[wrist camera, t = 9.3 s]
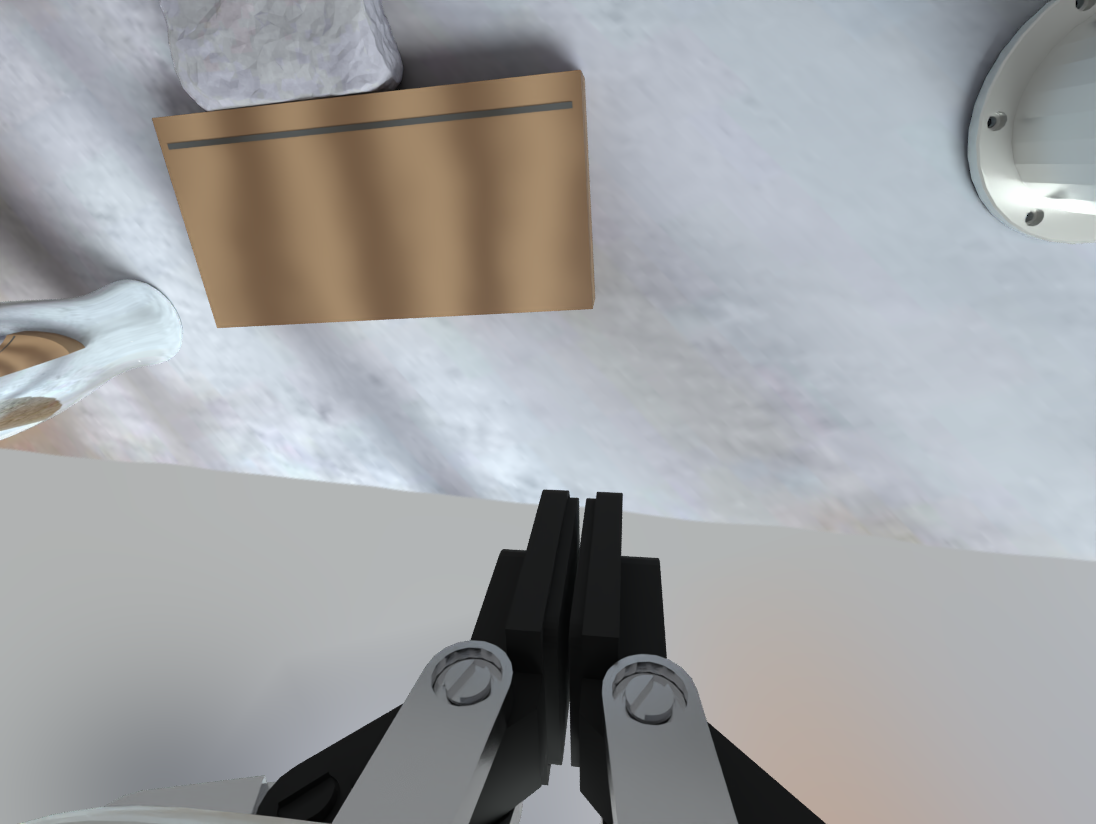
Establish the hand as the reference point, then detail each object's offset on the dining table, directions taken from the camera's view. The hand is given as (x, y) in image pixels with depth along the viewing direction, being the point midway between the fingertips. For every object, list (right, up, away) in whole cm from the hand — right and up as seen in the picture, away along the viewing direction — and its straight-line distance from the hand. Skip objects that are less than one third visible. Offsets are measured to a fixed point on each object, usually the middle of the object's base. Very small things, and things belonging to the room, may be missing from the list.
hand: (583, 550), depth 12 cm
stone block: (-15, +25, +20) cm, 36 cm away
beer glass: (-29, +9, +28) cm, 42 cm away
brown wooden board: (-10, +15, +23) cm, 29 cm away
